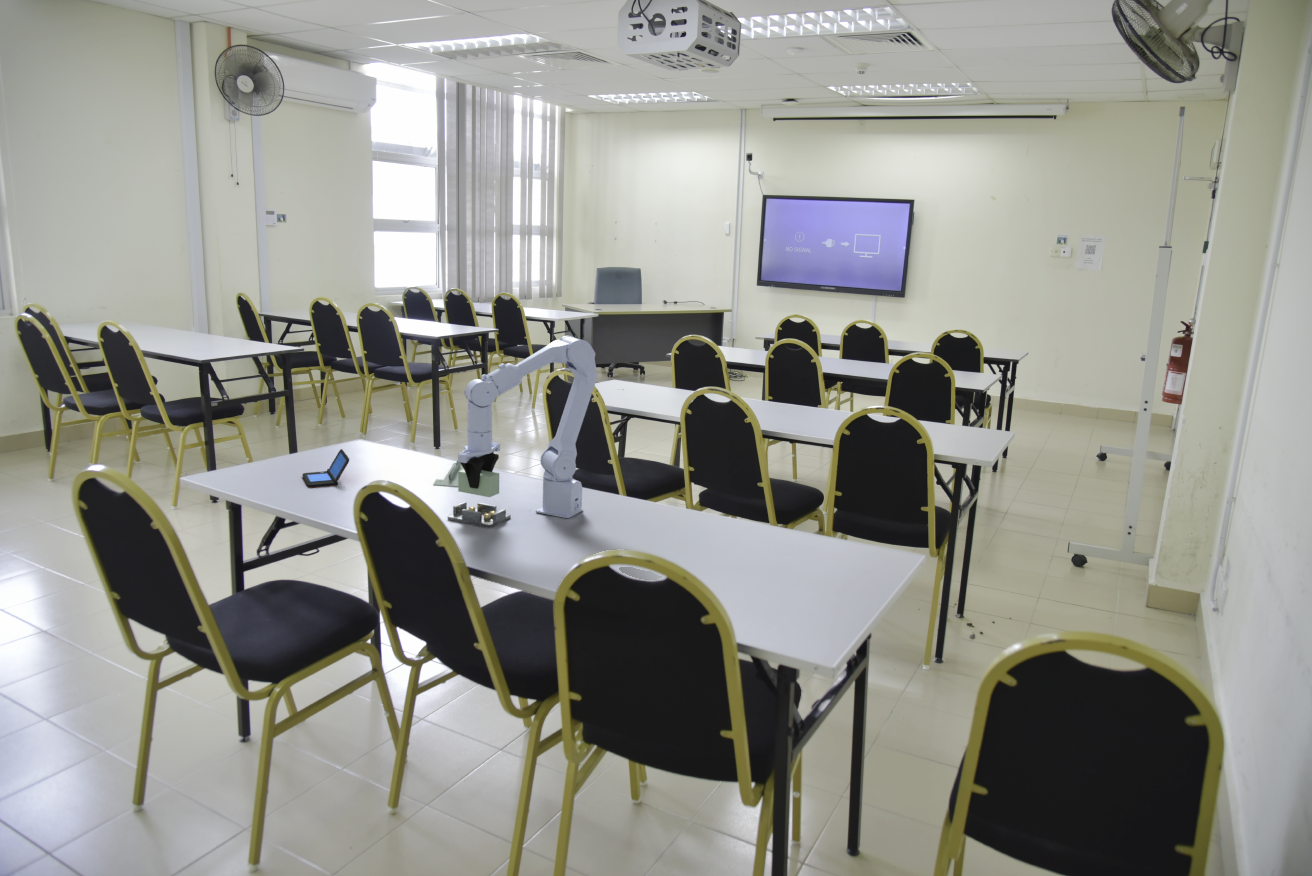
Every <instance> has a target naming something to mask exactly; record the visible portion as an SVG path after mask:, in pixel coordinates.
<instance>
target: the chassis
mask: <svg viewBox="0 0 1312 876" xmlns="http://www.w3.org/2000/svg"><path fill="white" fill-rule="evenodd" d="M467 505H468V504H467V501H462V502H460V503H457V504H455V505H453V507H452V510H453V511H452V514H451V515H448V516H447V520H448V521H452V522H457V523H461V524H465V525H466V524H467V525H472V526H477V527H481V528H486V529H487V528H488V529H491V528H493V527H495V526H497V525H499V524H502V523H504V522H506V521H507V520H510V519H511V517H512V515H511V514H507V509H504V508H502V509H499V510H498V511H497V505H493V504H490V503H484V502H477V508H476V507H475V506H469V507H468V506H467Z"/></svg>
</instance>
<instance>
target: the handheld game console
mask: <svg viewBox="0 0 1312 876" xmlns="http://www.w3.org/2000/svg"><path fill="white" fill-rule="evenodd" d="M349 462H350V457H349V456H348V455H347V454H346V452H345V451H344V450H343V449H342V448H341V449H340V450H339V451H338V452H337V454H336V456H335V458H334V459H333V461H332V462H331V464H330V466H329V468H327V469H326V470H324V471H314V472H313V471H312V472H304V473H302V479H303V480H304V482H305V483H306V486H307V488H310V489H313V488H324V487H325V488H326V487H327V488H328V487H334V486H336V487H338V485H339V484H338V481H339V479H340V477H342V474H343V473H344V472H345V470H346V468H347V466H348V464H349Z"/></svg>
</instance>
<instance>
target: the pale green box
mask: <svg viewBox="0 0 1312 876" xmlns="http://www.w3.org/2000/svg"><path fill="white" fill-rule="evenodd" d="M457 490H458V492H460V493H464V494H465V493H466V494H470V495H476V496H481V497H487V498H491V497H492V498H493V496H496V495H498V494H500V472H495V471H492V472H489V471H484V470H481V473H480V482H479V487H478V488H477V489H475V488H470V486H469V483H468V479H467V476H466V473H465V470H461V471H458V487H457Z"/></svg>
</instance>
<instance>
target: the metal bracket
mask: <svg viewBox="0 0 1312 876" xmlns="http://www.w3.org/2000/svg"><path fill="white" fill-rule="evenodd" d="M461 470H464V468H463V467H462V465H461V463H460V462H458V459H457V460H456V462H453V464H452V466H451V467H450V469H449V470H448V471H447V474H446V476H445V477H444V479H439V478H438V479H437V478H436V479H435V480H434V482H433V484H432V485H433V486H434V487H435V486H436V487H449V488H450V487H451V488H452V487H453V488H458V471H461Z"/></svg>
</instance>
